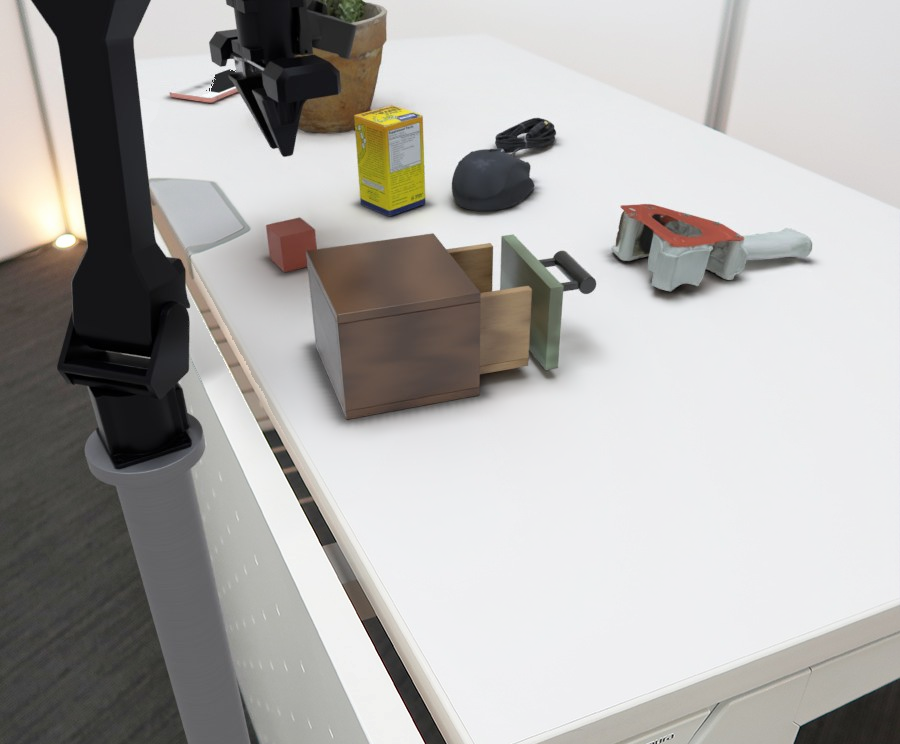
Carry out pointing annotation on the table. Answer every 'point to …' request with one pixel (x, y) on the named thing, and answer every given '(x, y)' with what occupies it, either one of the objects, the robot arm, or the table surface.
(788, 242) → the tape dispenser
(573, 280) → the drawer
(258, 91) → the robot arm
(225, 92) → the cell phone
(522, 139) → the computer mouse
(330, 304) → the cabinet
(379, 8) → the potted plant
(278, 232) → the block
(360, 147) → the supplement box
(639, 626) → the table surface
